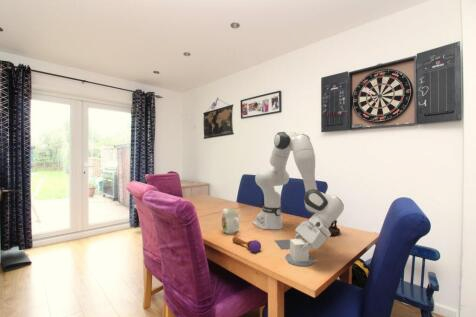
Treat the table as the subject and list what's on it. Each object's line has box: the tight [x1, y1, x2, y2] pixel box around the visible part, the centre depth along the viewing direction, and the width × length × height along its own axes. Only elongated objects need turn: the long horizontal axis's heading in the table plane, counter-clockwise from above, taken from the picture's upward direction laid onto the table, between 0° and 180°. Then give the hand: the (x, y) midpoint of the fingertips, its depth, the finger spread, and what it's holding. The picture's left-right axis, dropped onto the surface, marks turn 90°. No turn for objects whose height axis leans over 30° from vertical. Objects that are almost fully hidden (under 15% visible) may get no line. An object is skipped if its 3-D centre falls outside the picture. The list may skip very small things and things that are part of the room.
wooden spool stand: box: [328, 218, 341, 237], centre depth 147 cm, size 15×15×20 cm
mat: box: [274, 239, 290, 250], centre depth 128 cm, size 13×13×1 cm
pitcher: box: [221, 208, 240, 235], centre depth 148 cm, size 11×18×14 cm, turn 33°
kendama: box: [231, 236, 262, 253], centre depth 125 cm, size 6×6×20 cm
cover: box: [289, 238, 310, 262], centre depth 110 cm, size 7×7×8 cm
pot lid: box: [284, 253, 315, 267], centre depth 110 cm, size 13×13×3 cm
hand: (297, 246), depth 110 cm, fingers open, 8 cm apart
